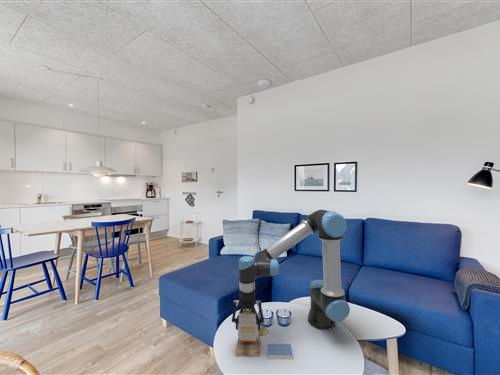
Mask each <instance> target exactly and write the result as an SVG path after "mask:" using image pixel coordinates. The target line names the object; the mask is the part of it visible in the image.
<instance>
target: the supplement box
mask: <svg viewBox="0 0 500 375" xmlns="http://www.w3.org/2000/svg"><path fill="white" fill-rule="evenodd" d="M238 314H239V336H240V341H253V342H256V340H257V337H256V314H255V313H253V312H252V311H251V310H249V309H246V310H243V312H242V313H239V312H238Z"/></svg>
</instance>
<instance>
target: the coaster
mask: <svg viewBox="0 0 500 375" xmlns="http://www.w3.org/2000/svg"><path fill="white" fill-rule="evenodd" d="M269 333H270V329H268V328H267V327H266V326H260V330H258V335H259V336H260V337H265V336H267V335H269Z"/></svg>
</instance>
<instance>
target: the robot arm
mask: <svg viewBox="0 0 500 375" xmlns="http://www.w3.org/2000/svg"><path fill="white" fill-rule="evenodd" d="M347 225H348V224H347V220H346V219H345V217H344V216H343V215H342V214H340V213H338V212H336V211H332V210H327V209H318V210H316V211H314V212H311V213H310V214H309V215H308V216H306V217H305V218H303V219H302V220H301V222H300V223H299V224H298V225H297V226H296V225H295V227H294V228H292V229H291V230H289V231H288V232H287V233H285V234H284V235H283V236H281V237H279V238H278V239H276V240H275V241H274V242H272V243H271V244H270V245H268V246H267V247H265V248H264V249H262V250H257V251H256V252H255V253H254V255H253V256H250V255H249V256H248V255H245V256H241V257H240V258H239V260H238V279H239V280H238V283H239V284H238V286H239V290H238V291H239V299H238V300H237V299H234V300H233V302H232V303H233V304H232V305H233V311H232V317H231V323H234V324H235V330H236V331H237V339H238V338H240V336H239V313H242V312H243V310H251V311H252V312H253V313H255V314H256V337H257V338H258V330H260V327H261V324H263V323H264V322H265V317H264V313H263V309H262V308H263V307H262V304H263V303H262V300H261V299H259V300H257V299H256V284H255V283H256V281H255V280H256V278H261V277H274V276H278V275H279V274H280V265H279V261H278V260H277V259H278V257H280V256H281V255H283V254H284V253H285V252H288V250H289V249H292V248H293V247H294V246H295V245H296V244H298V243H299V242H301V241H302V240H304V239H305V238H307V237H308V236H309V235H314V234H315V233H317V232H318V240H320V241H321V252H322V255H321V256H322V275H323V277H322V279H314V280H311V281H310V287H309V290H310V291H309V293H310V308H309V311H308V315H307V322H308V324H309V323H310V324H311V326H312V327H313V326H314V327H313V328H314V329H319V330H323V329H328V330H330V329H329V328H332V327H333V328H335V327H336V325H335V323H336V322H337V323H339V322H343V321H344V320H346V318H348V316H349V314H350V310H351V309H350V308H351V307H350V304H349V303H348V301H346V293H345V290H344V289H343V288H342V273H341V272H342V267H341V266H342V264H341V244H340V243H341V241H342V240H343V238H344V234H345V233H346V232H347V229H348V228H347V227H348V226H347ZM239 305H240V306H241V307H240V309H239V312H238V315H236V313H237V308H238V306H239ZM255 305H257V307H258V311H259V312H257V309H256V307H255ZM236 316H237V317H236ZM310 324H309V325H310ZM334 326H335V327H334ZM333 328H332V329H333Z"/></svg>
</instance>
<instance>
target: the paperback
mask: <svg viewBox="0 0 500 375" xmlns="http://www.w3.org/2000/svg"><path fill="white" fill-rule="evenodd" d="M267 355H268V357H267V358H268V360H293V359H294V356H293V350H292V344H290V343H267Z"/></svg>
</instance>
